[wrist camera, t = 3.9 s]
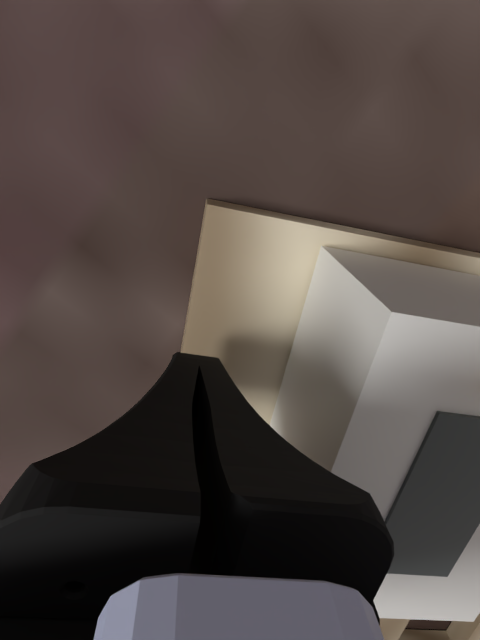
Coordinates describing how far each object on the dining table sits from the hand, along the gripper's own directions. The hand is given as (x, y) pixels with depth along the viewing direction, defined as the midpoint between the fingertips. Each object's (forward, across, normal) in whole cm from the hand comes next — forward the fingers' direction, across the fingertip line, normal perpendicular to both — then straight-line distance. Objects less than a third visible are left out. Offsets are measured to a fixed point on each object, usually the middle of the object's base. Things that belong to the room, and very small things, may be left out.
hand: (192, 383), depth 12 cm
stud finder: (+2, -6, 0) cm, 6 cm away
